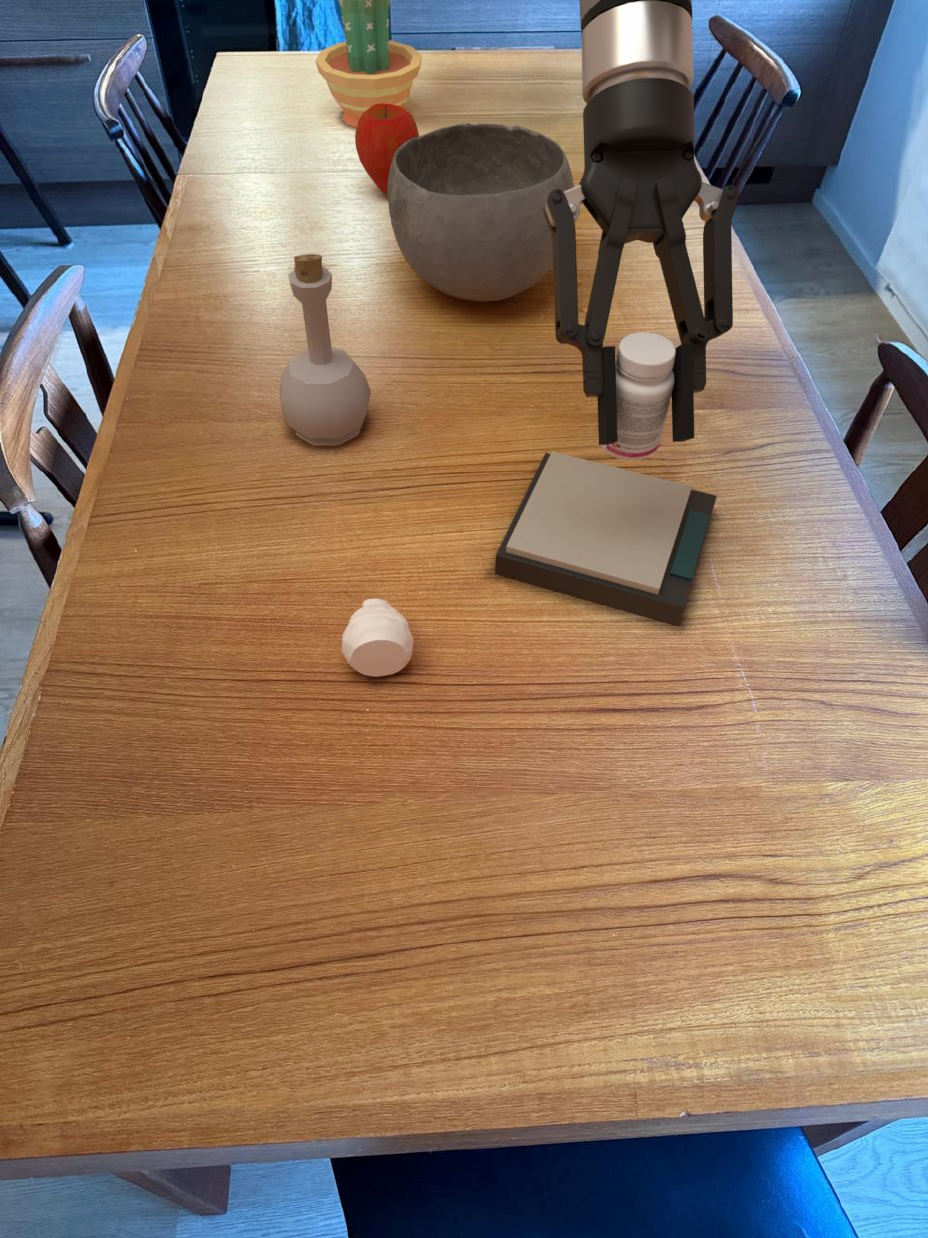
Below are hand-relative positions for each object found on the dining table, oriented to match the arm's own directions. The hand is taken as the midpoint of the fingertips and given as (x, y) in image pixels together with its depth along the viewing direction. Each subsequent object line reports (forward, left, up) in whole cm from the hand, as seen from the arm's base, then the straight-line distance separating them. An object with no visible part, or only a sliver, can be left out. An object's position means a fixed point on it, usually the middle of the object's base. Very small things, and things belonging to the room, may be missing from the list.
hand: (645, 440), depth 64 cm
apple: (+46, -57, -16) cm, 75 cm away
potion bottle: (+32, -10, -16) cm, 37 cm away
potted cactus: (+58, -78, -16) cm, 99 cm away
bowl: (+27, -40, -16) cm, 51 cm away
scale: (+2, -4, -15) cm, 16 cm away
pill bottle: (+2, -3, -3) cm, 5 cm away
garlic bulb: (+16, +14, -16) cm, 26 cm away
